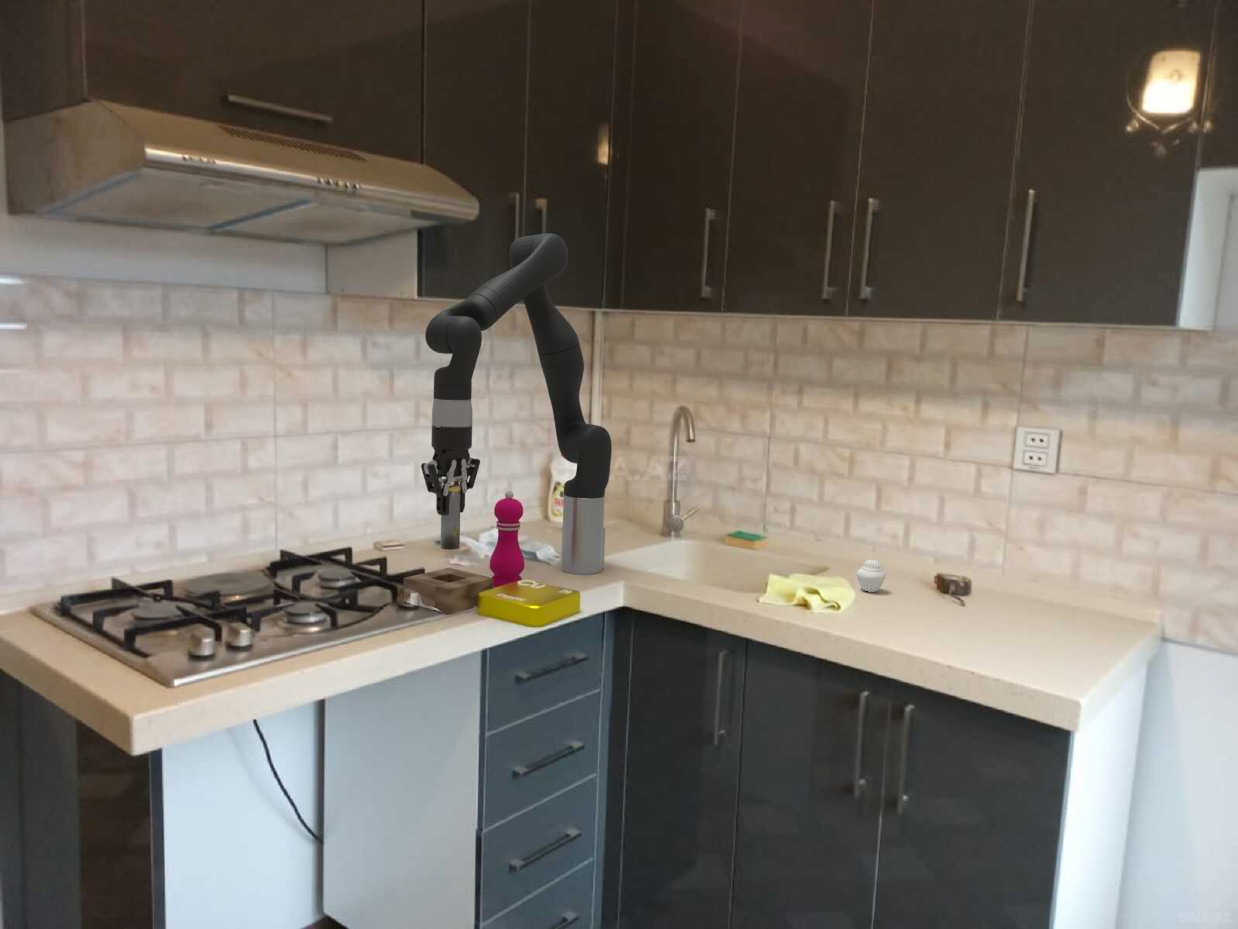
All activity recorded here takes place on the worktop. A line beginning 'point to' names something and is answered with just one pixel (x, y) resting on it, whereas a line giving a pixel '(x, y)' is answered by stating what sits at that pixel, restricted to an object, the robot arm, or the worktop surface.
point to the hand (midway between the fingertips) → (450, 513)
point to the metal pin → (451, 520)
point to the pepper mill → (507, 542)
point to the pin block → (448, 588)
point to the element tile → (528, 603)
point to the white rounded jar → (871, 576)
